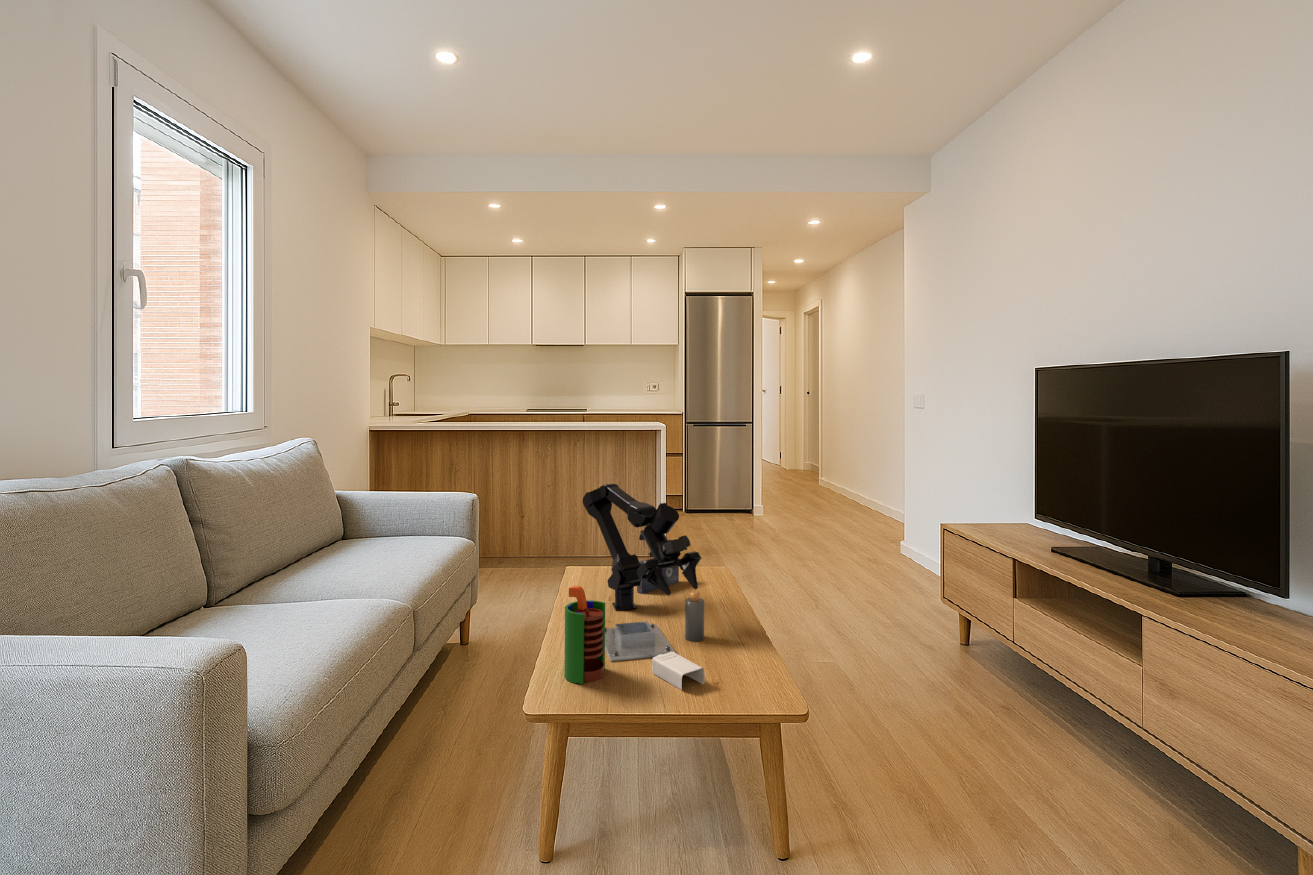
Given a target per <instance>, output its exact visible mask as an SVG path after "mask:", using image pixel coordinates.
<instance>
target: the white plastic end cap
mask: <svg viewBox="0 0 1313 875" xmlns="http://www.w3.org/2000/svg"><path fill="white" fill-rule="evenodd" d="M651 672H652V675H654V676H657V677H658V678H660V679H661V680H663V681H665V682H667V683H668V684H670V685H672V686H673V687H675V688H677V689H679V690H680V691H683V688H682V685H683V683H682V682H683V681H682V680H683V676H686V677H688V678H690V679H692V680H695V681H696V682H698V683H700V684H701V685H705V681H706V680H705V679H706V678H705V677H706V676H705V668H704V667H701V666H700V665H698V664H696V663H694V662H693V661H691V660H689V659H687V658H685V657H683V656H682V655H680V654H678V653H677V652H676V651H675V652H669V653H666V654H663V655H662V654H660V655H658V656H656V657H652V658H651ZM693 688H695V687H694V686H693V687H692V689H693Z"/></svg>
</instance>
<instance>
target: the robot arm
mask: <svg viewBox="0 0 1313 875" xmlns="http://www.w3.org/2000/svg"><path fill="white" fill-rule="evenodd" d="M613 504H614V505H615V506H616V507H617V508H619V510H621V511H622V512H624V513H625V514H626V516H627V517H626V519H627V520H628V522H629V523H630V524H631V526H633V527H634V528H642V527H644V528H643V529H642V530H640V534H639V536H638V537H639V538H638V539H639V541H645V543H646V545H647V547H648V549H649V550H650V552H649V553H648V555H649V557H653V558H654V559H653V558H649V559H650V560H649V559H645V560H642V561H643V563H642V564H640V563H639V562H640V560H639V558H638V556H637V554H636V553H635V554H631V553H629V552H628V550H627V547H626V545H625V543H624V540H623V538H622V535H621V534H620V531H619V529H618V527H617V525H616V522H615V519H614V517H613V514H612V508H613ZM582 505H583V506H584V508H585V511H586V512H587V514H588V515H589V516H590V517H592V518H593V519H595V520H596V522H597V525H598V527H599V529H600V532H601V535H602V537H603V539H604V542H605V544H606V546H607V549H608V551H609V553H610V556H611V558H612V564H611V572H612V574H611V575H610V576H609V578H608V579H607V586H608V588H609V589H612V590H614V602H612V603H611V605H612V606H613V609H614V610H615V611H626V610H627V611H628V610H636V609H637V608H638V607H637V605H636V604H635V595H634V594H635V592H634V591H635V588H634V587H637V586H640V583H641V580H643V579H644V581H645V582H649V583H651V584H652V585H654V586H656V587H657V588H658V589H657V590H660V591H661V592H662V593H664V594H665V595H667V596H670V595H671V594H672V592H671V590H670V588H669V586H668V585H667V583H666V581H665V579H664V577H663V575H662V570H663V569H668V568H673V567H678V566H679V570H681V571H682V572H681V574H682V575H683V576H684V578H685V579H686V581H687V582H688V583H689V584H690V586H691V587H692V588H693V589H694V591H695V590H697V589H698V588H699V587H698V586H699V585H698V579H697V573H696V572H697V570H696V568H697V566H698V564H699V562H700V561H701V560H702V556H701V555H700V553H699V551H689V552H685V553H684V554H683V556H682V557H681V554H682V553H681V552H683V551H686V550H688V548H689V547H691V541H690V539H689V537H688V536H687V534H686V535H681V536H680V537H678V538H676V539H675V538H674V539H668V538H667V536H666V534H668V533H670V531H671V530H672V529H673V527H674V526H675V525H676V523H677V522H678V521H679V519H680V514H679V512H678V511H677V510H676V509H675V508H674V507H672V506H670V505H668V503H667V502H662V503H659V505H658V507H657V508H656V507H655V506H654V505H652V504H649V503H647V502H642V501H638V500H637V499H635V498H634V497H633V496H631V495H629V493H627V492H626V491H624V490H623V489H622V488H620V487H619V485H618V484H617V483H606V484H602V485H601V486H600V487H598V488H595V489H594V490H591V491H588V492H586V493H585V494H584V496H583V497H582ZM678 556H679V557H681V558H679V559H678V558H677V557H678ZM637 610H638V609H637Z"/></svg>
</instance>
